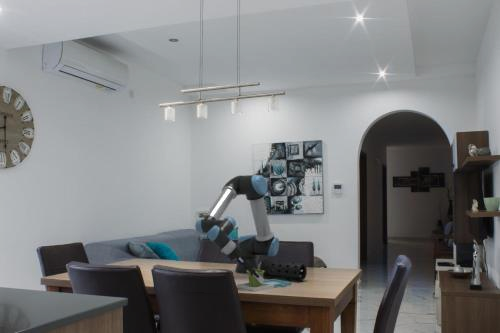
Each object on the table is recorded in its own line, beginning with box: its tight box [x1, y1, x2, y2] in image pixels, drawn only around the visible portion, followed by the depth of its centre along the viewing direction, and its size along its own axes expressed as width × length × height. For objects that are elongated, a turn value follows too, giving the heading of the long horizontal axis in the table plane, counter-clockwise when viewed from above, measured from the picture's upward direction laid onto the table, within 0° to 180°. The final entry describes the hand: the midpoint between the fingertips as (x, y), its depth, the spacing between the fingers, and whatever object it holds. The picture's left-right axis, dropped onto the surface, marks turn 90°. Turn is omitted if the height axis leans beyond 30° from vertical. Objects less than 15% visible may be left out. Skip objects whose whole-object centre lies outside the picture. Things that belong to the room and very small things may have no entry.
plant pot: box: [246, 270, 264, 287], centre depth 265 cm, size 9×9×9 cm
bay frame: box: [236, 278, 292, 292], centre depth 269 cm, size 18×27×2 cm
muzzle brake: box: [258, 259, 308, 282], centre depth 291 cm, size 10×28×10 cm, turn 55°
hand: (261, 279), depth 266 cm, fingers closed on plant pot, 9 cm apart
